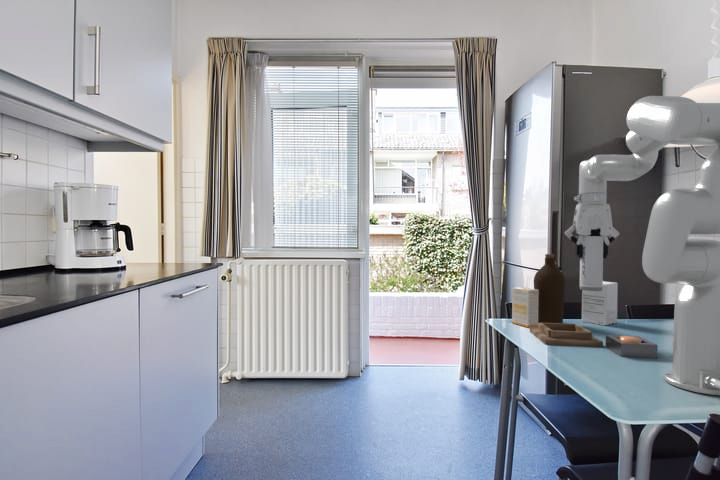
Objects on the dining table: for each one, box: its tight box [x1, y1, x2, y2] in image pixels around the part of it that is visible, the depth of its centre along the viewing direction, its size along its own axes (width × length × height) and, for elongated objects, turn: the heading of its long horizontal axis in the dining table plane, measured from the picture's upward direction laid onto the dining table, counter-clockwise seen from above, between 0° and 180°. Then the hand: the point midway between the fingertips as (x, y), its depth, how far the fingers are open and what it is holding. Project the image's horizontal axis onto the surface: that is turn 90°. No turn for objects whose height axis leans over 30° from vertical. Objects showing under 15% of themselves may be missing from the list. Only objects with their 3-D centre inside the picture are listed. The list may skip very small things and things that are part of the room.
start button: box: [619, 335, 641, 343], centre depth 117 cm, size 5×5×3 cm
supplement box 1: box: [511, 286, 539, 328], centre depth 150 cm, size 8×5×13 cm, turn 22°
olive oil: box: [533, 253, 567, 323], centre depth 155 cm, size 11×11×25 cm
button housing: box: [605, 334, 658, 359], centre depth 117 cm, size 9×9×4 cm
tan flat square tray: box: [529, 322, 604, 348], centre depth 131 cm, size 16×16×4 cm
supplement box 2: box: [581, 280, 619, 326], centre depth 156 cm, size 9×9×15 cm
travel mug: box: [579, 228, 604, 291], centre depth 132 cm, size 6×7×20 cm
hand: (591, 257), depth 132 cm, fingers closed on travel mug, 6 cm apart
